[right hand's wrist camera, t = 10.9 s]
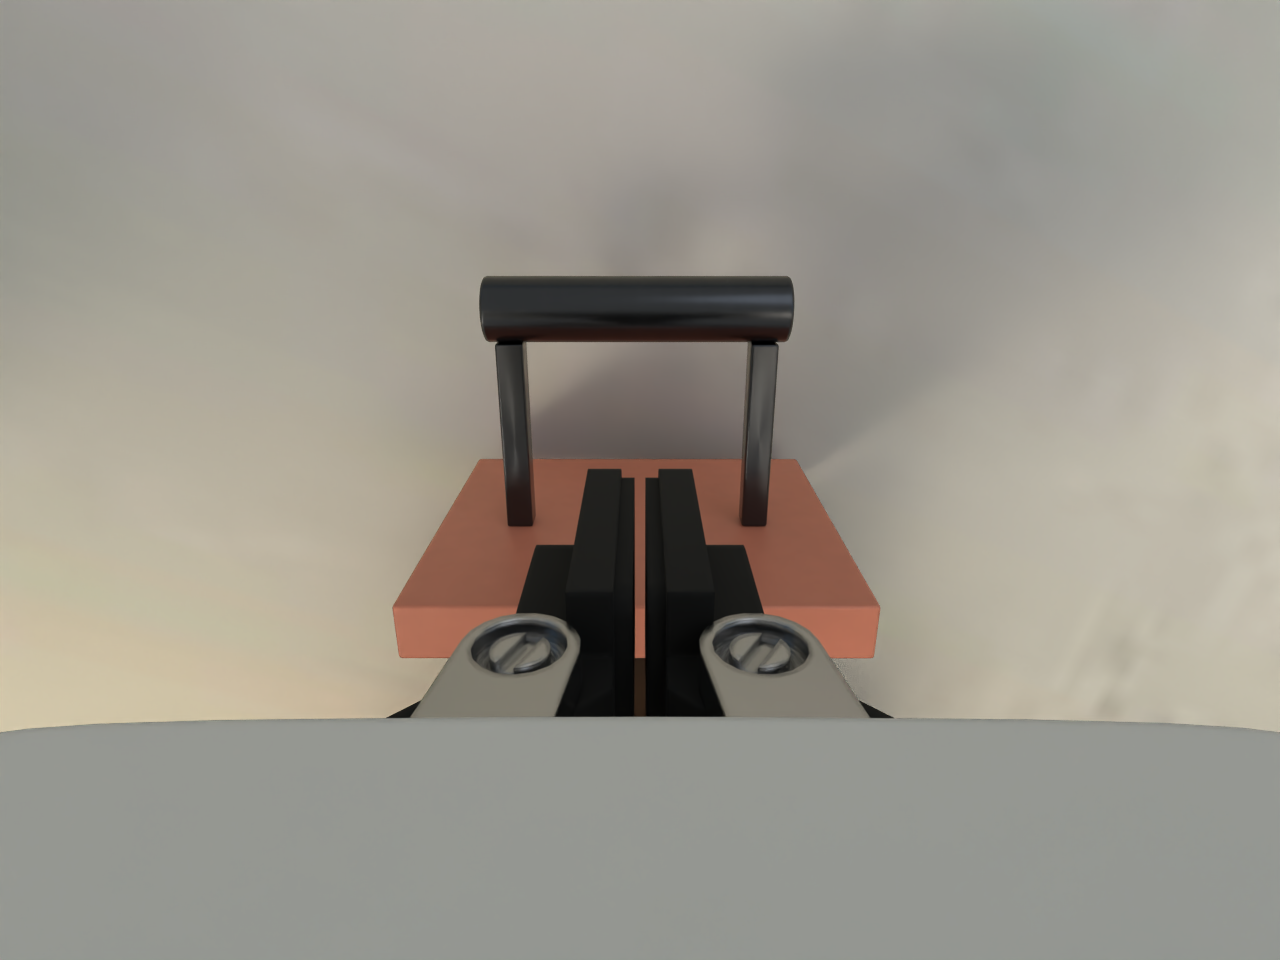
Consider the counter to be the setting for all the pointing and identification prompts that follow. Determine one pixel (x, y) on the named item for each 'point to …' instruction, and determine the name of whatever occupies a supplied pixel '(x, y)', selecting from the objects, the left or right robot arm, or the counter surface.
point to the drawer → (635, 469)
